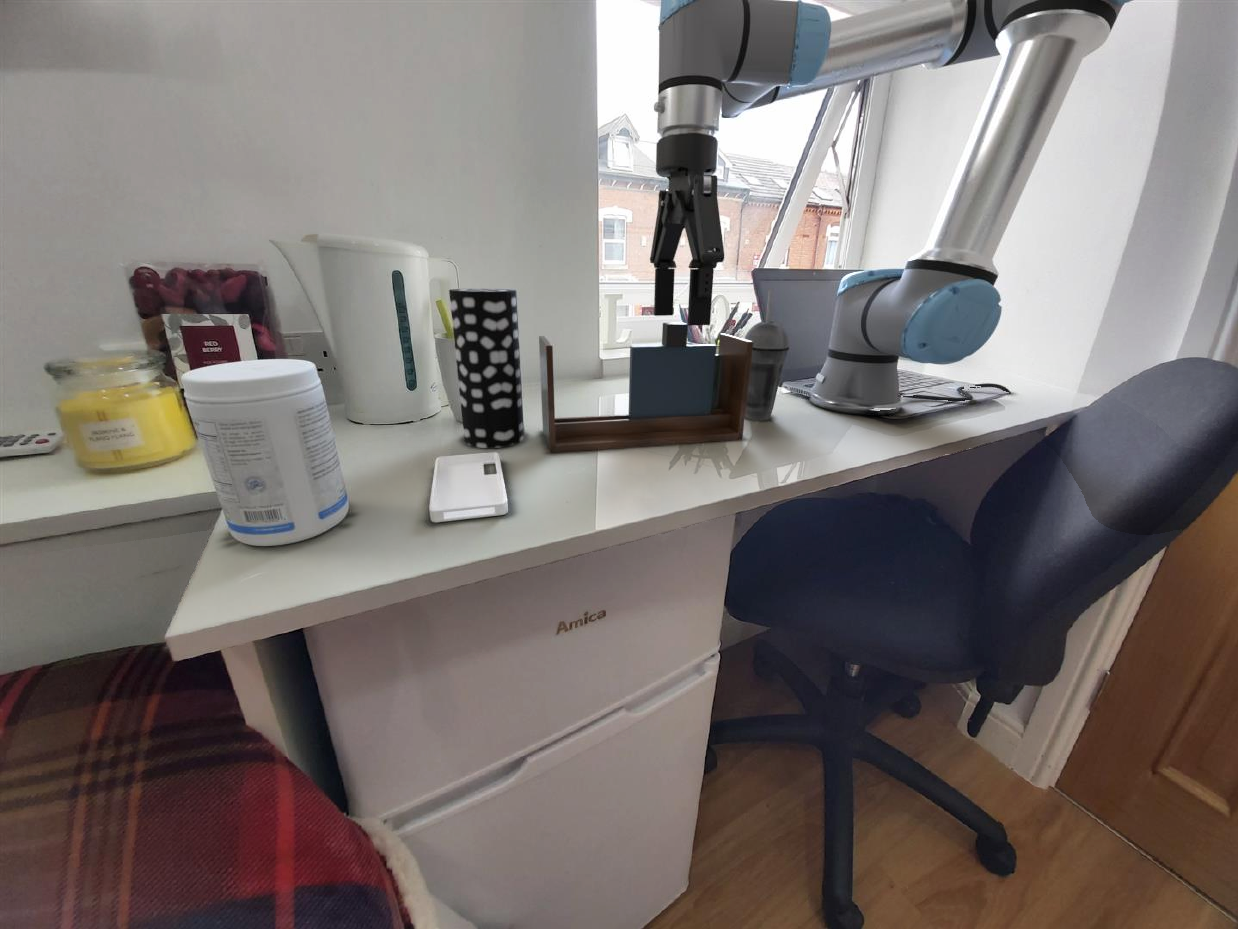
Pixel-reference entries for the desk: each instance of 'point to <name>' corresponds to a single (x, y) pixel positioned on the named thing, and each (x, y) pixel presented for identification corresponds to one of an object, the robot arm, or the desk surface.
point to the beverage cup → (765, 366)
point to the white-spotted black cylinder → (488, 366)
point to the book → (671, 376)
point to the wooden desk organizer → (660, 430)
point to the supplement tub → (268, 448)
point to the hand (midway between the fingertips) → (679, 320)
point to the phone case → (467, 488)
